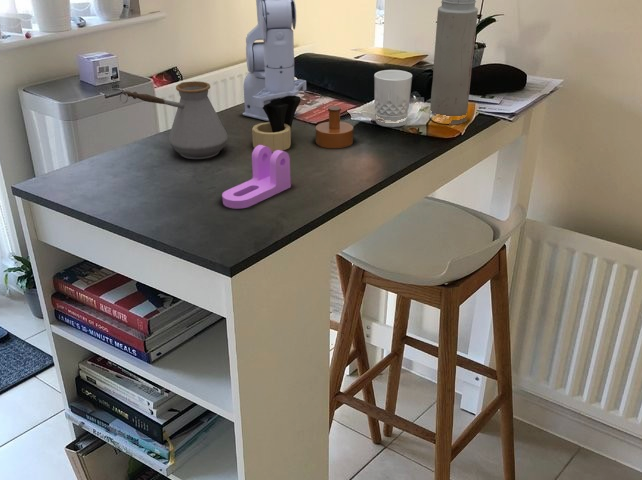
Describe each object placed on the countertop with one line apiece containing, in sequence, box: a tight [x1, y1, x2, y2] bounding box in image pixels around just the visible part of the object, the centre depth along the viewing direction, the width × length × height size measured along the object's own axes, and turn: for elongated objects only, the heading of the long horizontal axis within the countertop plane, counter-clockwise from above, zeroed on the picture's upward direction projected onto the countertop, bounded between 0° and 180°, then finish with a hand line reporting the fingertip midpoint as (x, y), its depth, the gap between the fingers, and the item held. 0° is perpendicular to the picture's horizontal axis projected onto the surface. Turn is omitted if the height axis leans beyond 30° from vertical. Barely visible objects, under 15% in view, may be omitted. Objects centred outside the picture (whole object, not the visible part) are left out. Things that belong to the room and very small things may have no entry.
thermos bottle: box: [429, 0, 479, 126], centre depth 156 cm, size 8×8×28 cm
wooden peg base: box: [315, 105, 354, 149], centre depth 151 cm, size 8×8×7 cm
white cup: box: [373, 69, 413, 128], centre depth 160 cm, size 8×8×10 cm
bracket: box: [221, 145, 292, 210], centre depth 129 cm, size 13×6×7 cm, turn 141°
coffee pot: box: [119, 80, 229, 160], centre depth 141 cm, size 21×12×15 cm, turn 136°
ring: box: [251, 121, 292, 153], centre depth 150 cm, size 7×7×4 cm
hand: (281, 134), depth 153 cm, fingers closed
